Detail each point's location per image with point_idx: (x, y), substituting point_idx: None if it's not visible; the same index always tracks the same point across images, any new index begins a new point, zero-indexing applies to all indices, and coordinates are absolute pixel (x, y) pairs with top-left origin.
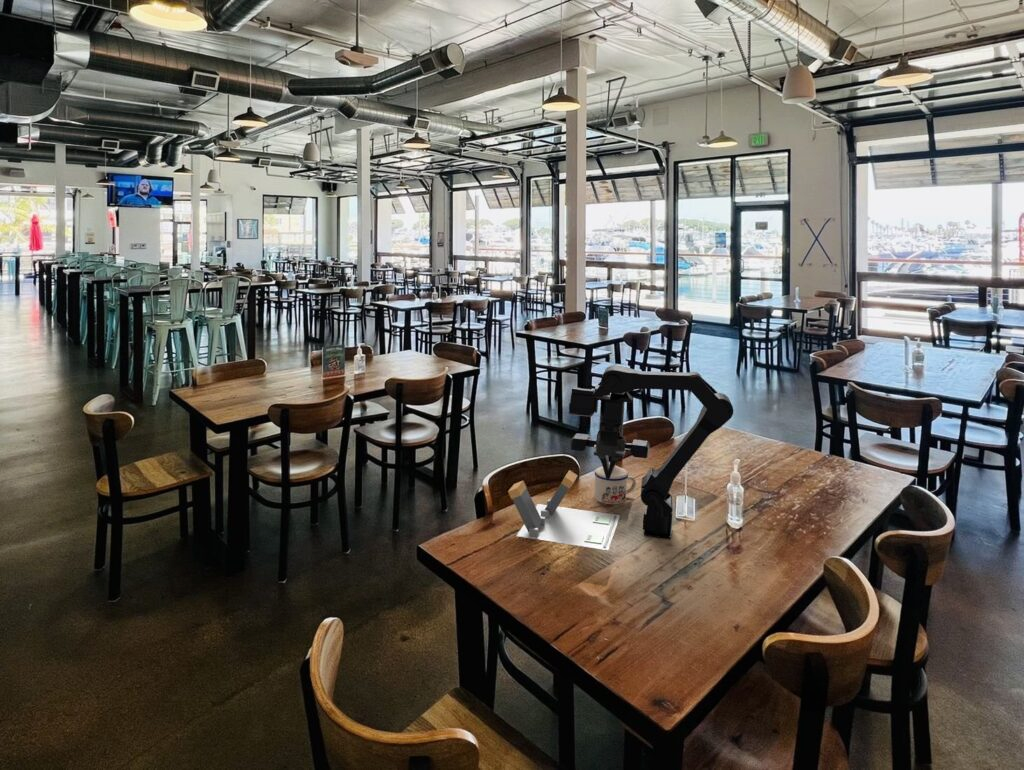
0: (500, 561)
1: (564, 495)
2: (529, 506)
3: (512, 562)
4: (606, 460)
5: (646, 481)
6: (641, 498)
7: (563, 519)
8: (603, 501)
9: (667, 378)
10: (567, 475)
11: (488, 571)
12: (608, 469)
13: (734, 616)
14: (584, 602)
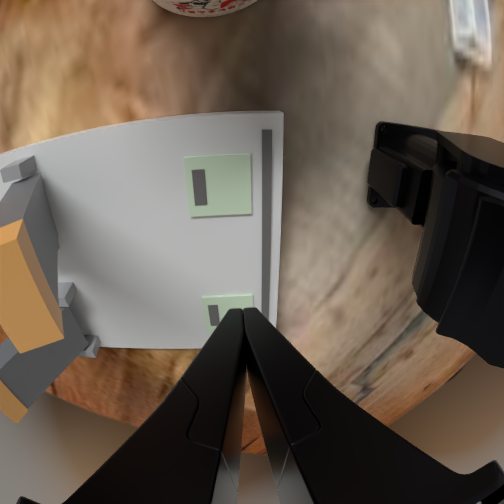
0: (97, 384)
1: (56, 284)
2: (42, 369)
3: (113, 384)
4: (236, 490)
5: (476, 327)
6: (414, 286)
7: (95, 233)
8: (186, 12)
9: None
10: (9, 327)
11: (104, 402)
12: (243, 365)
13: (434, 375)
14: (257, 421)
